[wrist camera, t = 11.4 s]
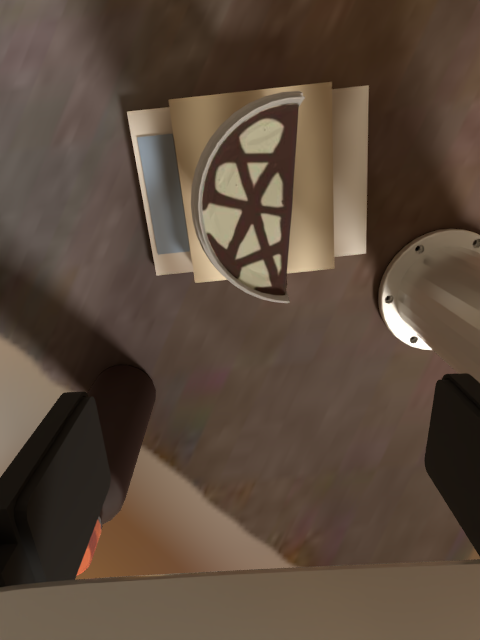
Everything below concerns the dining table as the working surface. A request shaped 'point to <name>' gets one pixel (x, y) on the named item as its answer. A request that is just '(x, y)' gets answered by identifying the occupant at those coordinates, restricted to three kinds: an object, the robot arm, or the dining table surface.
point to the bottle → (119, 435)
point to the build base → (341, 172)
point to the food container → (249, 195)
